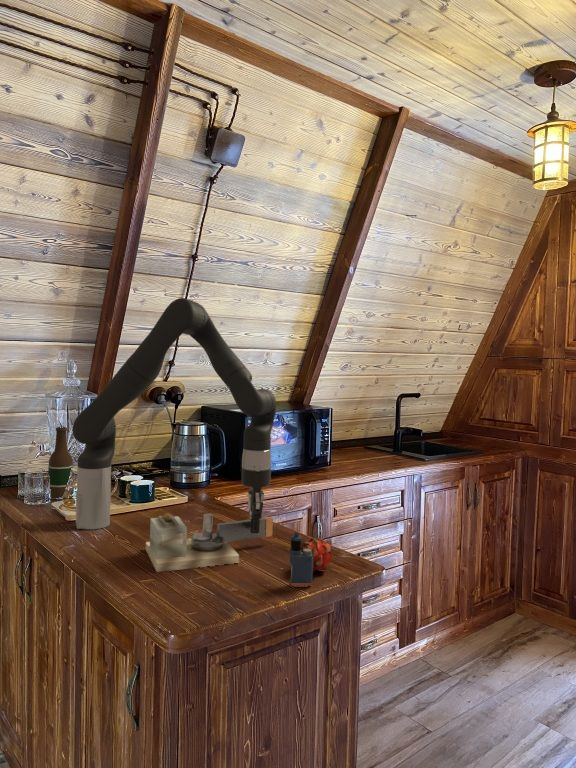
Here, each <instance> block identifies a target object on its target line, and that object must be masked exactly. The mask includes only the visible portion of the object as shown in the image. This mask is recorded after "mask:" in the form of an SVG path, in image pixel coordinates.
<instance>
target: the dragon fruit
mask: <svg viewBox="0 0 576 768" xmlns="http://www.w3.org/2000/svg"><path fill="white" fill-rule="evenodd" d="M303 549H311V550H312V556H313V570H315V571H317V570H327V566H328V565H329V563H331V562H332V561H333V553H332V550H331V546H330V544H329V543H328V541H324V539H323V538H321V537H316V538H315V539H314V538H309V539H307V540H305V541H304V542H301V552H303Z"/></svg>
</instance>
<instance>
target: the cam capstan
mask: <svg viewBox="0 0 576 768" xmlns="http://www.w3.org/2000/svg"><path fill="white" fill-rule="evenodd" d="M213 519H214V515H213V513H204V514H203V515H202V521H203V522H202V531H201V532H196V533H193V534H192V536H191V537H190V538H191V547H192V548H193V549H195V550H198V551H215V550H219V549H221V548H222V547H223V543H225V542H227V543H230V542H238V541H244V540H252V539H258V538H268V537H272V536H273V530H274V529H273V525H274V524H273V523H274V518H272V517H271V516H263V517H261V519H260V522H259V533H251V531H250V521H251V518H249V519H243V520H234V521H226V522H221V523H220V522H219V523H217V524H216V533H213V524H214V523H213V522H214V521H213Z"/></svg>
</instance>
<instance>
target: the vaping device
mask: <svg viewBox="0 0 576 768" xmlns="http://www.w3.org/2000/svg"><path fill="white" fill-rule="evenodd" d="M302 537H303V536H301V535H300V532H298V531H297V532H294V533H293V535H292V536H291V537H290V554H289V563H290V569H291V570H290V584H291V583H311V582H312V583H313V575H314V574H313V573H314V572H313V556H312V550H311V549H303V552H301V543H302V539H303V538H302Z"/></svg>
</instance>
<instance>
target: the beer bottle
mask: <svg viewBox="0 0 576 768" xmlns="http://www.w3.org/2000/svg"><path fill="white" fill-rule="evenodd" d="M60 427H61V426H57V427H55V432H56V433H55V443H54V450H53V452H52V453H51V455H50V457H49V460H48V465H47V466H48V468H47V469H48V472H47V475H48V474H49V476H50V489H51V496H52V498H59V497H62V496H63V494H64V492H65V488H66V485H67V482H68V479H69V476H70V470H71V468H73V469H74V462H73V458H72V455H71V453H70V452H69V449H68V437H67V432H68V427H66V426H62V427H63V428H60Z"/></svg>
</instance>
